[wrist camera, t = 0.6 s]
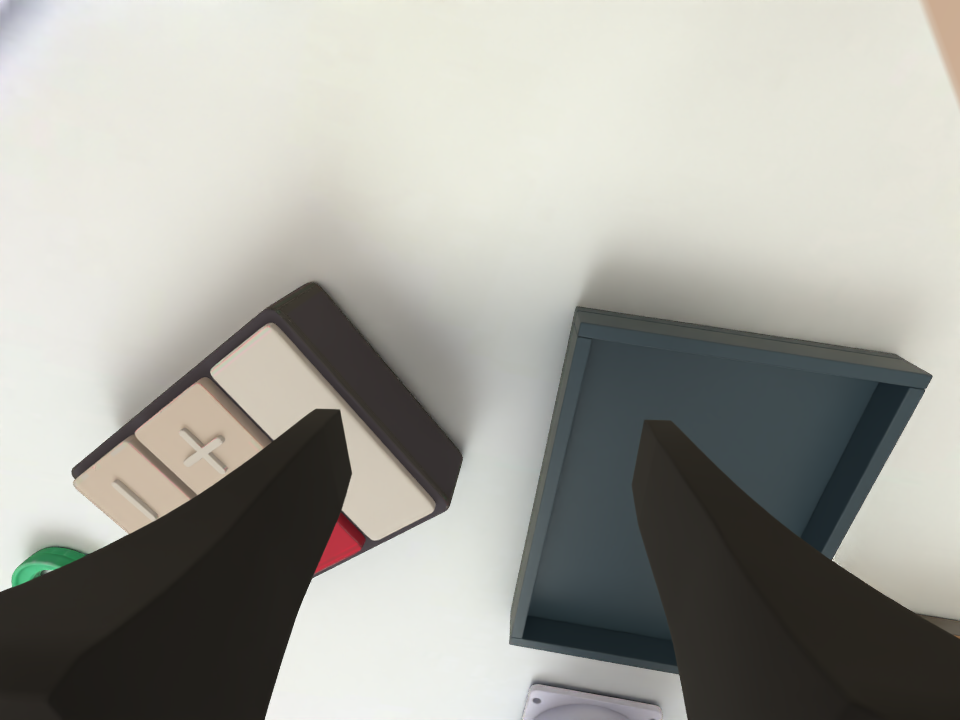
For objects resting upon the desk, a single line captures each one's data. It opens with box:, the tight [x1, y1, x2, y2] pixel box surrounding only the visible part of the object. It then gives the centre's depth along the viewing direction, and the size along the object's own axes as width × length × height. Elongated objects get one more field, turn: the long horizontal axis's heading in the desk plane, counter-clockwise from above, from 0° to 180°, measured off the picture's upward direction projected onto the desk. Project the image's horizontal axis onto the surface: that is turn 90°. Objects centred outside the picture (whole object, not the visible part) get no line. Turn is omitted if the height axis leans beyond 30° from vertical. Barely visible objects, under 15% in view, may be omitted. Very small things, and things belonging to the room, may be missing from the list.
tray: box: [509, 307, 933, 674], centre depth 23 cm, size 18×13×2 cm
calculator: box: [72, 282, 463, 578], centre depth 23 cm, size 11×4×15 cm
